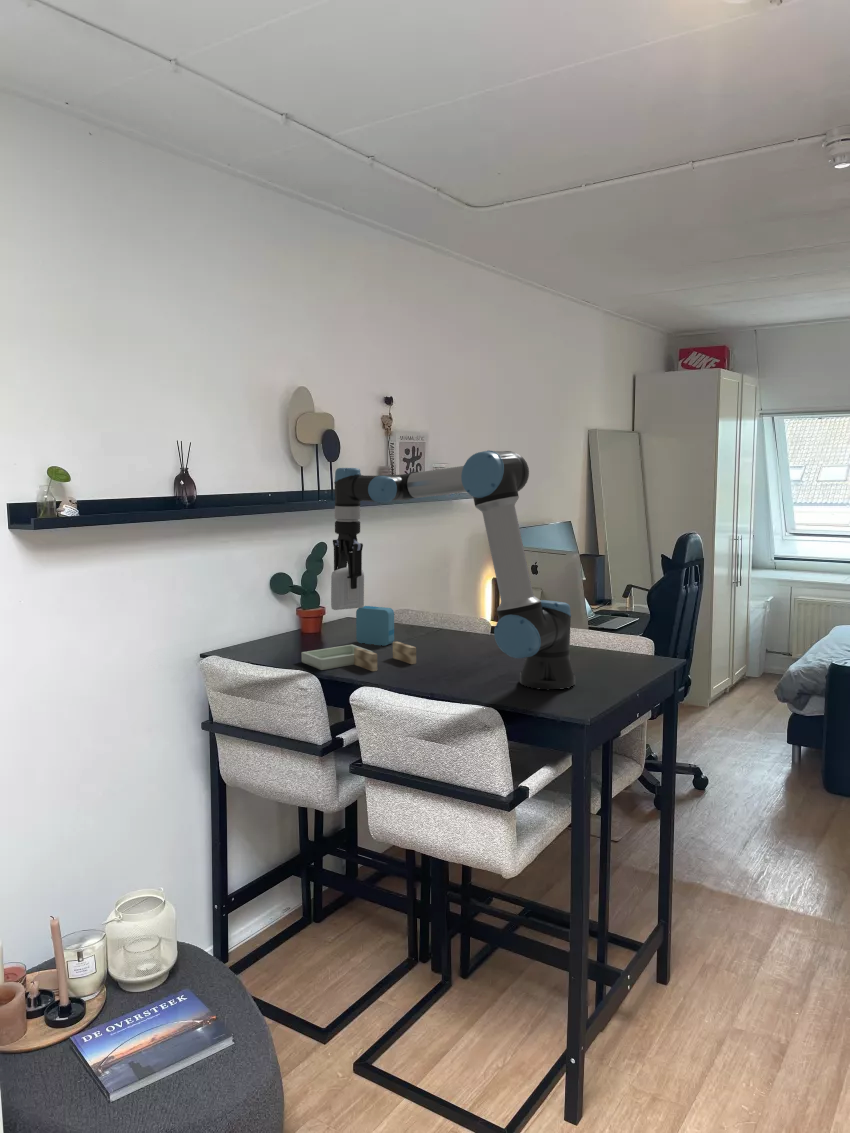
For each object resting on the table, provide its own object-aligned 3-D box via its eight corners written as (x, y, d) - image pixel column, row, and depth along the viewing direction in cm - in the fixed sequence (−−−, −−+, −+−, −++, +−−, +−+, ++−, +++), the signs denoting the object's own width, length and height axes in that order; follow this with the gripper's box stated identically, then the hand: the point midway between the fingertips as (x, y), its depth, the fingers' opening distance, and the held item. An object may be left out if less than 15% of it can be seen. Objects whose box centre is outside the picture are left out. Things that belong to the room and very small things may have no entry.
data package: (394, 643, 282) (394, 608, 280) (388, 646, 278) (388, 610, 276) (362, 640, 287) (362, 605, 285) (356, 643, 282) (355, 607, 281)
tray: (373, 661, 258) (373, 651, 258) (321, 670, 247) (321, 660, 247) (352, 653, 267) (352, 644, 267) (301, 662, 257) (301, 652, 256)
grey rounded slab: (359, 605, 259) (359, 565, 258) (366, 608, 256) (366, 567, 254) (328, 608, 254) (328, 567, 252) (335, 611, 250) (335, 569, 248)
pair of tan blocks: (416, 663, 255) (416, 647, 255) (372, 671, 246) (372, 654, 245) (397, 657, 263) (397, 641, 262) (354, 664, 254) (354, 648, 253)
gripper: (374, 522, 246) (373, 601, 250) (343, 517, 260) (343, 592, 264) (352, 523, 242) (352, 603, 245) (321, 518, 256) (322, 594, 259)
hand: (347, 597), depth 254 cm, fingers closed on grey rounded slab, 4 cm apart
